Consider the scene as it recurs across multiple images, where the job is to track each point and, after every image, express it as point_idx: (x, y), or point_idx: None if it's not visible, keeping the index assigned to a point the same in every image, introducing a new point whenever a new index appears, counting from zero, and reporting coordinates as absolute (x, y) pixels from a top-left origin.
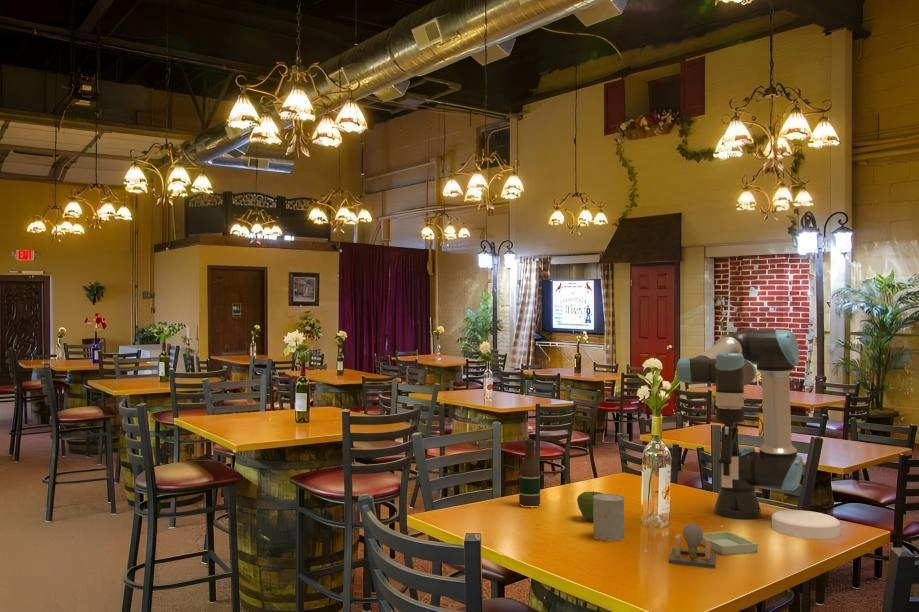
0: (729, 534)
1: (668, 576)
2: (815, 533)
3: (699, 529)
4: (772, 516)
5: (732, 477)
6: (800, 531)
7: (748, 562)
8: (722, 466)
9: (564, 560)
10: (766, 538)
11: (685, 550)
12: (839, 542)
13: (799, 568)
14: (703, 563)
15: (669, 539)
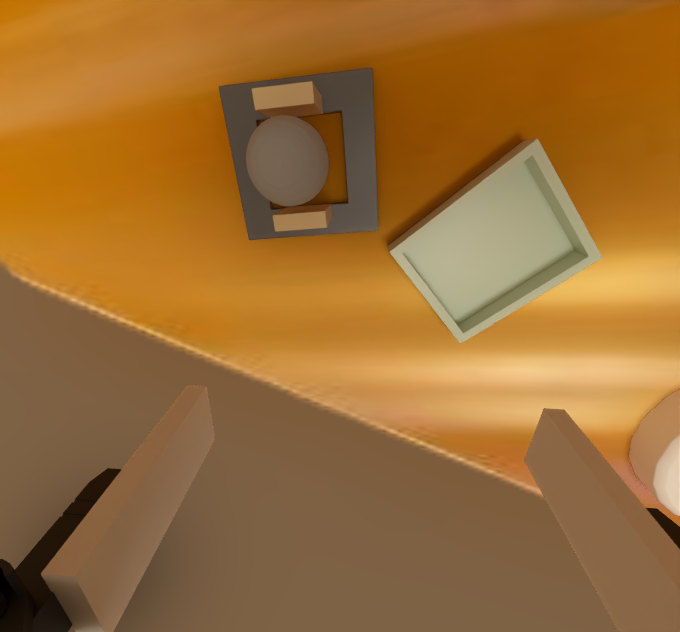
0: (578, 258)
1: (100, 115)
2: (641, 463)
3: (268, 196)
4: None
5: (540, 442)
6: (653, 436)
7: (350, 313)
8: (77, 538)
9: None
10: (619, 350)
11: (354, 127)
12: None
13: (354, 410)
14: (243, 206)
15: (540, 20)
